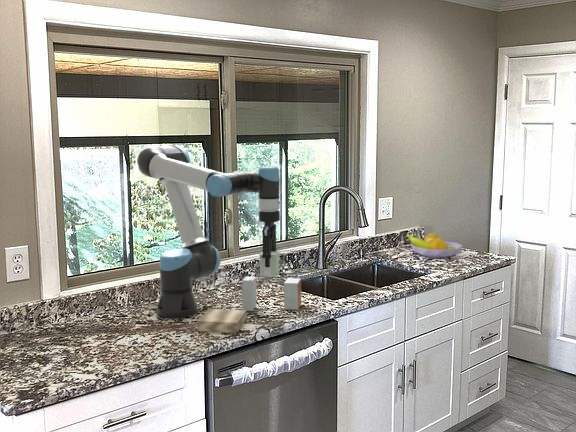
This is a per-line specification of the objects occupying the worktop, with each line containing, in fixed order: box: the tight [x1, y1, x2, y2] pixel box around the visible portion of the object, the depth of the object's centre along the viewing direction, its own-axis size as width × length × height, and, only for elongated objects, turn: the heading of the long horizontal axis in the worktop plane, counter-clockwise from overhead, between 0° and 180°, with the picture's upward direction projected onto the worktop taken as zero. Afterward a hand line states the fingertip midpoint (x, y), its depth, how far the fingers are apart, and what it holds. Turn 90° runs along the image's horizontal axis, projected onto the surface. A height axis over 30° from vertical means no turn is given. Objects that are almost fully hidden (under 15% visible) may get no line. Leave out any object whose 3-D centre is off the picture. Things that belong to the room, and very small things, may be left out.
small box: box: [283, 277, 302, 311], centre depth 235 cm, size 8×6×10 cm
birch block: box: [196, 308, 248, 334], centre depth 214 cm, size 14×14×4 cm
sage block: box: [259, 250, 280, 278], centre depth 220 cm, size 6×6×8 cm
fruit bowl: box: [406, 232, 463, 259], centre depth 325 cm, size 28×27×11 cm
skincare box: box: [241, 276, 257, 312], centre depth 233 cm, size 6×4×12 cm
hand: (269, 273), depth 221 cm, fingers closed on sage block, 6 cm apart
